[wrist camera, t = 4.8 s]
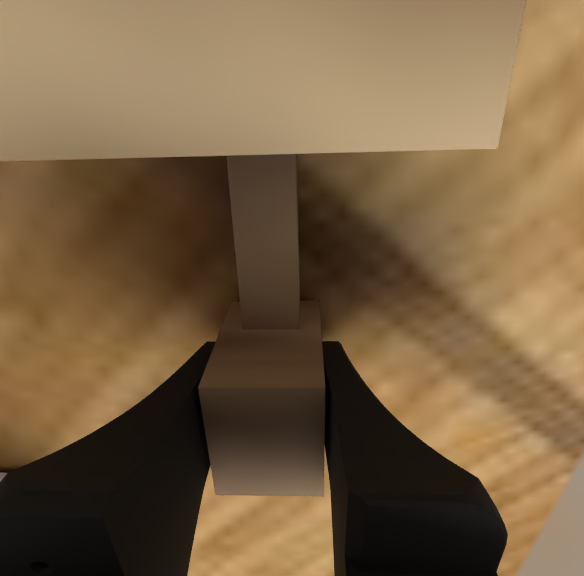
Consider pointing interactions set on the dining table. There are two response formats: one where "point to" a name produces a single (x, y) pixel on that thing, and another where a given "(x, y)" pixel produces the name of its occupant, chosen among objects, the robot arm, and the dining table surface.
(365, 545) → the robot arm
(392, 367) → the dining table surface
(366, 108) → the oak shelf
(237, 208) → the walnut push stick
